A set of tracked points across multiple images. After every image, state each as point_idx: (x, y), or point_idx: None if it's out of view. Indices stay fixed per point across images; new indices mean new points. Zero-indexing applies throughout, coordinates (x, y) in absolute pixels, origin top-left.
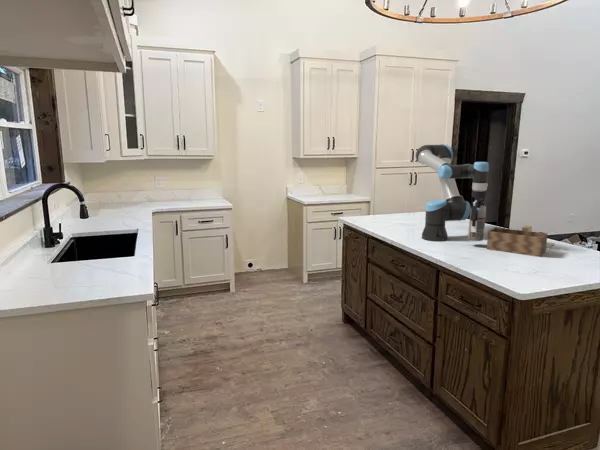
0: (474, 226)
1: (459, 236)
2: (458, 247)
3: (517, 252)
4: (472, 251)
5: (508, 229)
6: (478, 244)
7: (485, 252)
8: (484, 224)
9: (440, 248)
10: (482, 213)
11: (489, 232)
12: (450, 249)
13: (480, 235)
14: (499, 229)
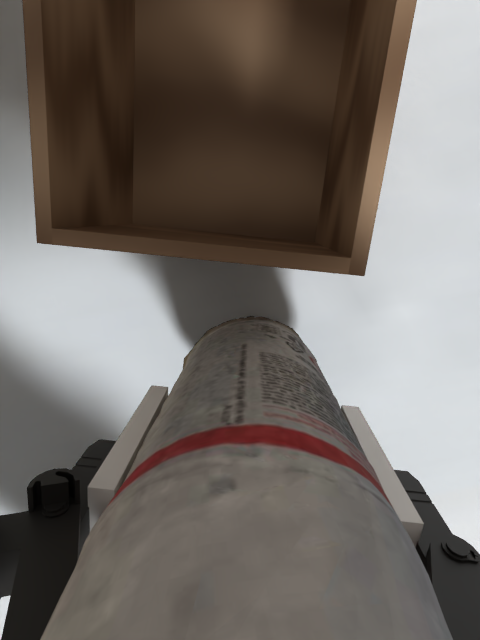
0: (407, 472)
1: (17, 506)
2: None
3: None
4: (454, 332)
5: (44, 22)
6: (191, 342)
7: (446, 236)
8: (262, 376)
9: (455, 531)
10: (433, 612)
11: (365, 253)
12: (457, 474)
13: (302, 348)
14: (58, 175)
